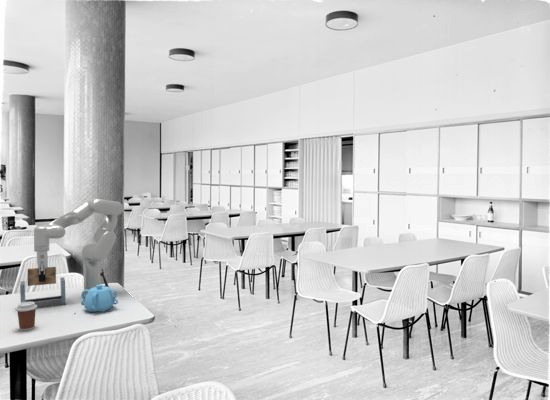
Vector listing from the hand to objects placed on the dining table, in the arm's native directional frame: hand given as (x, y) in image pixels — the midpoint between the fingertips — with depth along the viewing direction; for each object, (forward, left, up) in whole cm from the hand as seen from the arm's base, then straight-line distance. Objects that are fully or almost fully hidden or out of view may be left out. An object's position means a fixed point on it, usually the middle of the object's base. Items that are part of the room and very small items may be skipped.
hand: (42, 280), depth 250 cm
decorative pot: (-35, +1, -15) cm, 38 cm away
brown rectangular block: (0, 0, -2) cm, 2 cm away
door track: (0, 0, -14) cm, 14 cm away
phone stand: (-10, -42, -15) cm, 46 cm away
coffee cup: (-17, +34, -15) cm, 41 cm away
